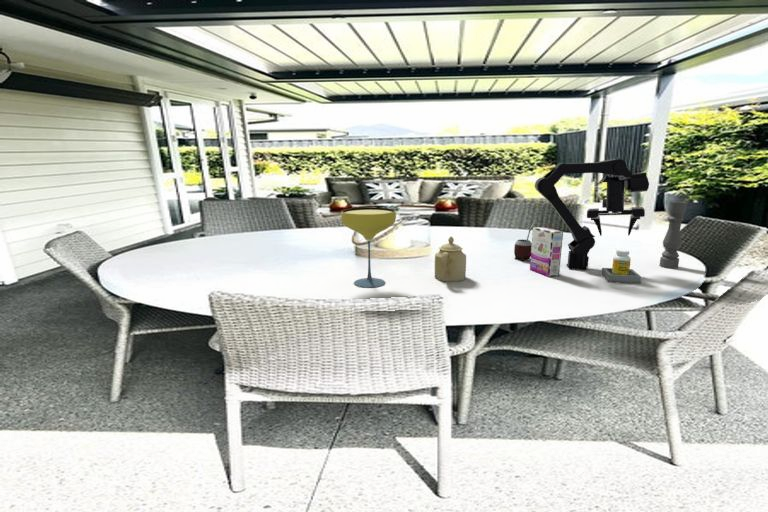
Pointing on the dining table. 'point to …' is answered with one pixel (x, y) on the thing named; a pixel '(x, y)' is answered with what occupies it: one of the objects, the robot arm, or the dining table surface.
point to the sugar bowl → (450, 262)
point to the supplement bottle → (621, 263)
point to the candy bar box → (546, 251)
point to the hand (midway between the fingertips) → (614, 235)
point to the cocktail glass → (368, 232)
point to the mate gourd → (523, 248)
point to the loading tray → (621, 276)
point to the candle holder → (673, 235)
